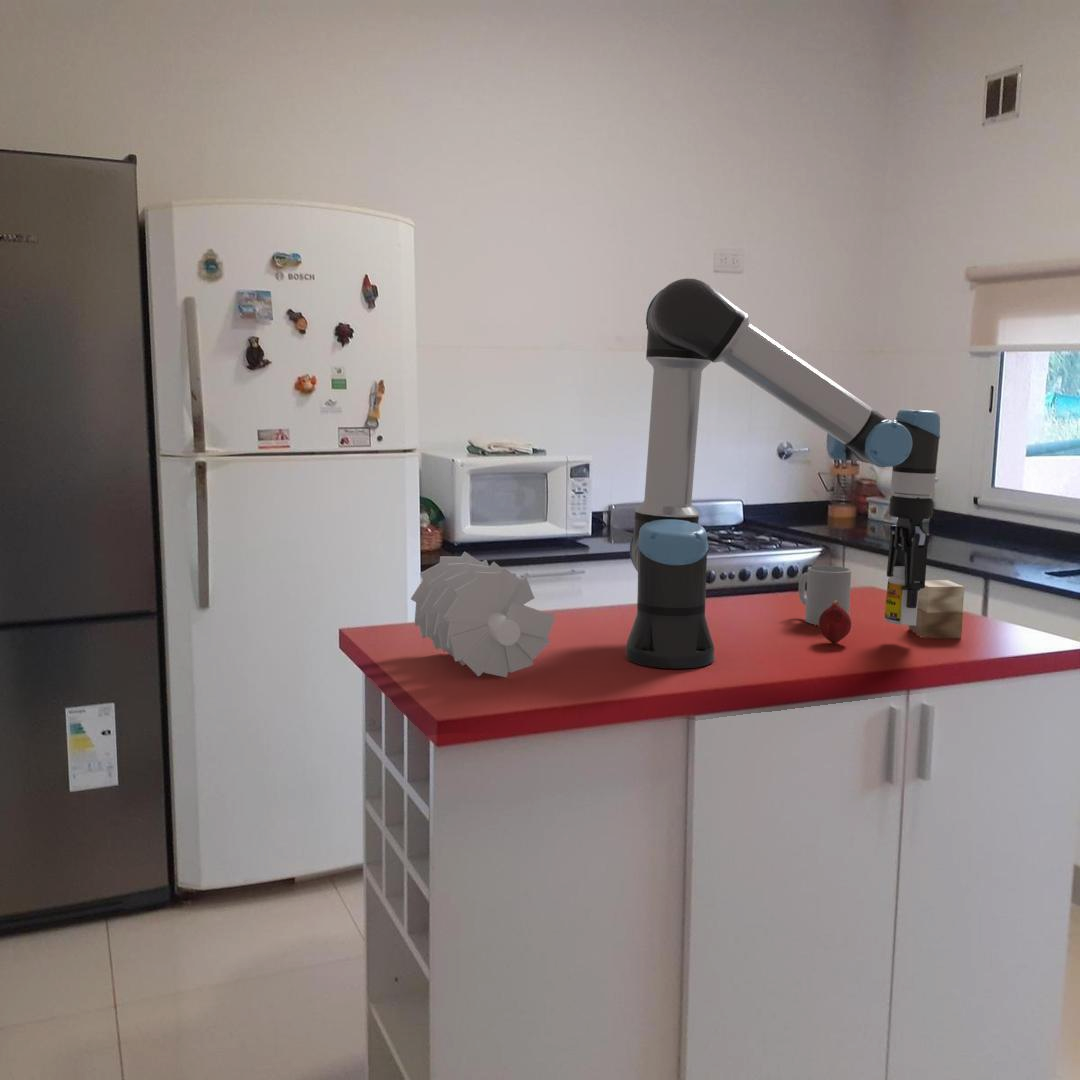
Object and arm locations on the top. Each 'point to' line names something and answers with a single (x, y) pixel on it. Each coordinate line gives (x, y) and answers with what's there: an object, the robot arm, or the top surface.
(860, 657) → the top surface
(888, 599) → the supplement bottle
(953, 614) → the bottom block
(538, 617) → the spiral staircase
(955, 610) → the top block
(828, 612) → the onion
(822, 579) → the mug
